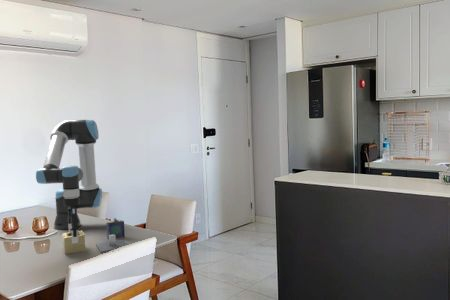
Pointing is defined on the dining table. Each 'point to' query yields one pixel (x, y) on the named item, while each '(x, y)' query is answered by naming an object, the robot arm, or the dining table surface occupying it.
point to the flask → (115, 228)
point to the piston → (110, 244)
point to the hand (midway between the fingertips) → (73, 239)
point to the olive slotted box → (74, 247)
